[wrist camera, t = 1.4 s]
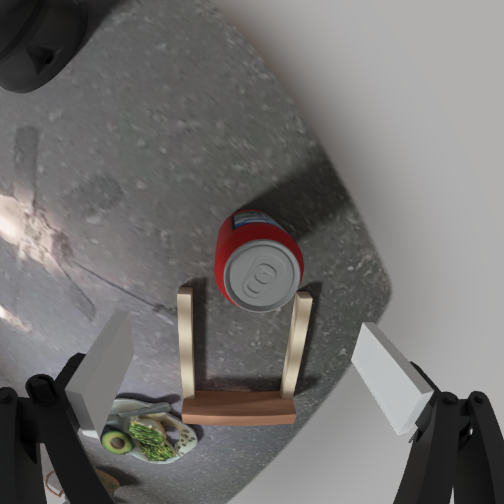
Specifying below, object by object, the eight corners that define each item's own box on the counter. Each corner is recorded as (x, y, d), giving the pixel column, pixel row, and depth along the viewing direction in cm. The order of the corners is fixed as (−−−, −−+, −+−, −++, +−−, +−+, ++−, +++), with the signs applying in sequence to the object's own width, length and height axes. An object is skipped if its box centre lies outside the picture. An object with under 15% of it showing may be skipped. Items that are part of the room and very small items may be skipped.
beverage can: (291, 231, 31) (328, 265, 20) (255, 279, 32) (271, 336, 21) (241, 195, 30) (252, 209, 18) (205, 246, 31) (194, 290, 19)
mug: (65, 446, 40) (50, 485, 28) (128, 484, 44) (120, 522, 33) (50, 455, 41) (36, 488, 29) (107, 489, 46) (99, 523, 34)
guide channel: (179, 286, 32) (172, 306, 27) (307, 291, 33) (320, 310, 29) (185, 398, 37) (182, 423, 32) (287, 399, 38) (294, 423, 33)
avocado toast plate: (125, 367, 35) (116, 387, 30) (222, 424, 39) (223, 445, 35) (82, 418, 37) (74, 435, 33) (162, 462, 42) (159, 480, 37)
